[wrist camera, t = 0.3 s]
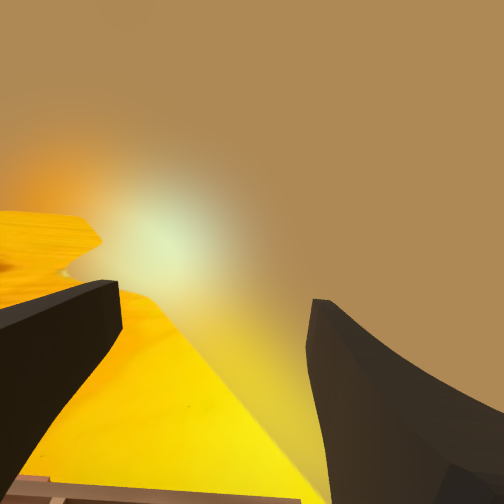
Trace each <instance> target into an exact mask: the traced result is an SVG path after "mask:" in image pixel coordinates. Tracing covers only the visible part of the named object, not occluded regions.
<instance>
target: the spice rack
mask: <svg viewBox="0 0 504 504" xmlns="http://www.w3.org/2000/svg"><path fill="white" fill-rule="evenodd" d="M0 504H301V499H290V498H276V497H261V496H246V495H231V494H217V493H202V492H187V491H172V490H158V489H143V488H128V487H114V486H99V485H84V484H69V483H55V482H51V481H50V477H45V476H31V475H18V476H17V477H16V479H15V480H14V482H13V483H12V485H11V487H10V488H9V490H8V491H7V493H6V495H5V496H4V498H3V500H2V501H1V503H0Z"/></svg>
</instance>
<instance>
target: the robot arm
mask: <svg viewBox="0 0 504 504" xmlns="http://www.w3.org/2000/svg"><path fill="white" fill-rule="evenodd" d="M122 329H123V326H122V316H121V307H120V297H119V287H118V281H112V280H97V281H93V282H89V283H85V284H81V285H78V286H75V287H71V288H68V289H65V290H62V291H59V292H56V293H53V294H49V295H46V296H43V297H40V298H37V299H33V300H30V301H27V302H23V303H20V304H16V305H13V306H10V307H6V308H3V309H0V503H1V501H2V500H3V498H4V496H5V495H6V493H7V491H8V490H9V488H10V487H11V485H12V483H13V482H14V480H15V479H16V477H17V476H18V474H19V472H20V471H21V469H22V468H23V466H24V465H25V463H26V461H27V460H28V458H29V457H30V455H31V454H32V452H33V451H34V449H35V448H36V446H37V445H38V443H39V442H40V440H41V439H42V437H43V436H44V434H45V433H46V431H47V430H48V428H49V427H50V425H51V424H52V422H53V421H54V420H55V418H56V417H57V416H58V414H59V413H60V412H61V410H62V409H63V408H64V406H65V405H66V404H67V403H68V402H69V400H70V399H71V398H72V397H73V395H74V394H75V393H76V392H77V391H78V389H79V388H80V387H81V386H82V384H83V383H84V382H85V381H86V379H87V378H88V377H89V376H90V375H91V373H92V372H93V371H94V370H95V368H96V367H97V366H98V365H99V363H100V362H101V361H102V360H103V358H104V357H105V356H106V355H107V353H108V352H109V350H110V349H111V347H112V346H113V344H114V343H115V341H116V339H117V337H118V336H119V334H120V332H121V331H122ZM306 358H307V367H308V374H309V379H310V384H311V388H312V392H313V397H314V401H315V406H316V410H317V415H318V419H319V423H320V428H321V432H322V437H323V442H324V447H325V452H326V460H327V468H328V476H329V483H330V490H331V499H332V504H504V413H502V412H500V411H497V410H495V409H493V408H491V407H489V406H487V405H485V404H483V403H481V402H479V401H477V400H475V399H473V398H471V397H469V396H467V395H465V394H464V393H462V392H460V391H458V390H456V389H454V388H453V387H451V386H449V385H447V384H445V383H443V382H442V381H440V380H438V379H436V378H435V377H433V376H431V375H429V374H428V373H426V372H424V371H423V370H421V369H420V368H418V367H417V366H415V365H413V364H412V363H410V362H409V361H407V360H406V359H404V358H402V357H401V356H400V355H398V354H396V353H395V352H394V351H392V350H391V349H390V348H388V347H387V346H386V345H384V344H383V343H382V342H380V341H379V340H378V339H376V338H375V337H374V336H372V335H371V334H370V333H369V332H367V331H366V330H365V329H364V328H362V327H361V326H360V325H359V324H358V323H356V322H355V321H354V320H353V319H352V318H351V317H350V316H348V315H347V314H346V313H345V312H344V311H343V310H341V309H340V308H339V307H338V306H337V305H336V304H334V303H333V302H332V301H330V300H321V299H313V302H312V308H311V315H310V321H309V328H308V334H307V340H306Z"/></svg>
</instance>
